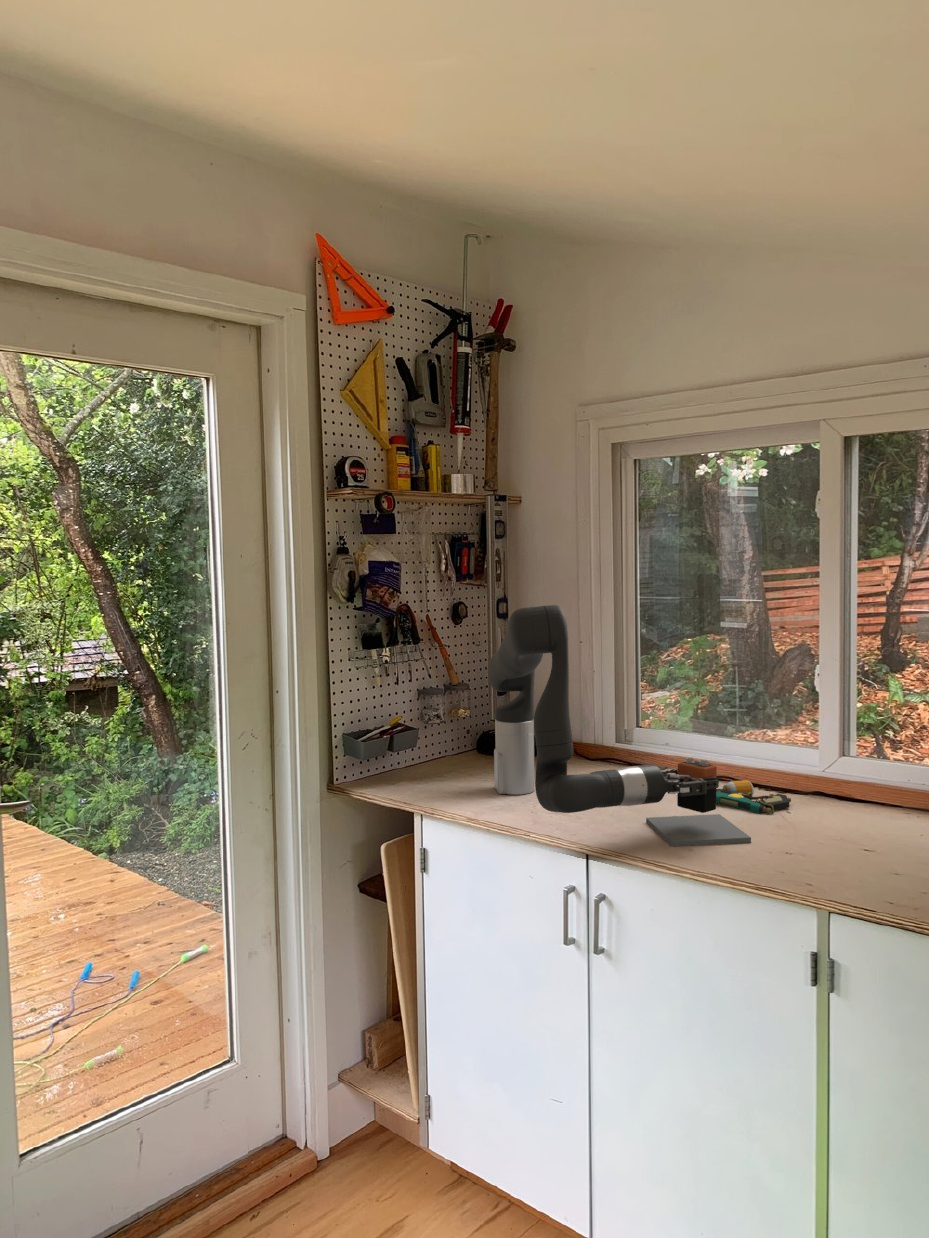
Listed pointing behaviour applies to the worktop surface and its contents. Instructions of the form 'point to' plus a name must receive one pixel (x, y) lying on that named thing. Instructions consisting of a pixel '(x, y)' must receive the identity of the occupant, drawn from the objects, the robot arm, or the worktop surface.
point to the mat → (697, 830)
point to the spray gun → (749, 798)
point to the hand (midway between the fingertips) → (705, 777)
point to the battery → (698, 771)
